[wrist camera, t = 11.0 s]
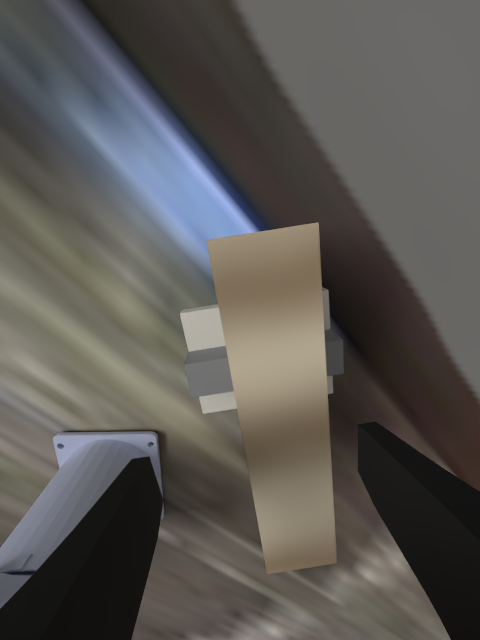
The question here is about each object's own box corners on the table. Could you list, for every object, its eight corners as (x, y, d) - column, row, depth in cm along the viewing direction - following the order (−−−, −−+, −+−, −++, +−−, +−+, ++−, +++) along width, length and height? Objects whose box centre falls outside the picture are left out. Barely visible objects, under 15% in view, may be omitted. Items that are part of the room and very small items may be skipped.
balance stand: (328, 385, 20) (345, 409, 17) (204, 405, 20) (200, 432, 17) (323, 287, 17) (341, 295, 15) (182, 309, 17) (173, 322, 15)
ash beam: (302, 462, 18) (336, 563, 12) (254, 469, 18) (267, 574, 12) (279, 232, 13) (318, 222, 8) (215, 242, 13) (206, 239, 8)
